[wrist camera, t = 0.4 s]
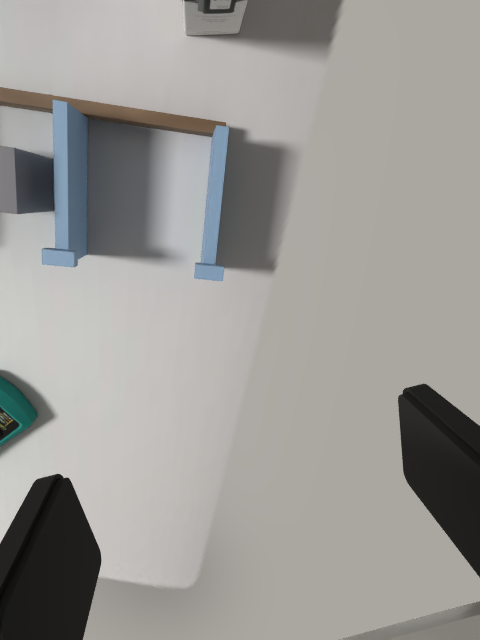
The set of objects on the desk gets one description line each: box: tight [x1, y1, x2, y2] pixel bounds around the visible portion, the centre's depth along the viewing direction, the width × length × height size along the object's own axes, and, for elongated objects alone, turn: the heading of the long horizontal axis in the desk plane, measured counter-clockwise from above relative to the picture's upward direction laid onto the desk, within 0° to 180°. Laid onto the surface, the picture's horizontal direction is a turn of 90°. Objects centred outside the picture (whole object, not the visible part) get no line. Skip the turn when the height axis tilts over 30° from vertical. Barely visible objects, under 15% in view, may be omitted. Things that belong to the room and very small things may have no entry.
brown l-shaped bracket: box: [0, 87, 226, 137], centre depth 33 cm, size 13×25×4 cm, turn 83°
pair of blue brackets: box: [42, 100, 229, 281], centre depth 33 cm, size 12×14×7 cm
